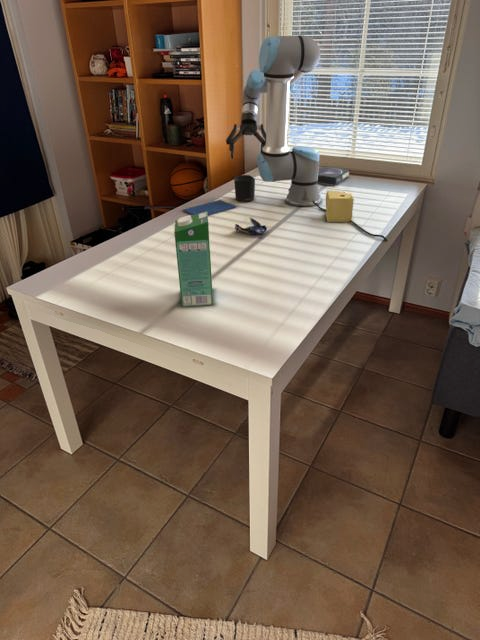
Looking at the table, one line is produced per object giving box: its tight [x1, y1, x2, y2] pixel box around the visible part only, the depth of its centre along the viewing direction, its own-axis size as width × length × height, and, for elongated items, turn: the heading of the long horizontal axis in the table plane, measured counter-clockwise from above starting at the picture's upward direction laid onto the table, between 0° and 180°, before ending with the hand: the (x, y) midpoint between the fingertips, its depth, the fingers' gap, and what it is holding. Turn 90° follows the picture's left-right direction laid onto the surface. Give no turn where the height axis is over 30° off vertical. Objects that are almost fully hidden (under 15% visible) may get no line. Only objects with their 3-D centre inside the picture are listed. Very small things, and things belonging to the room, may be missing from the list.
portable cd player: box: [318, 165, 350, 186], centre depth 241 cm, size 16×17×4 cm
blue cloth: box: [182, 199, 237, 216], centre depth 206 cm, size 12×20×1 cm, turn 128°
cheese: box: [325, 190, 355, 223], centre depth 191 cm, size 10×11×10 cm
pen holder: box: [233, 174, 256, 203], centre depth 214 cm, size 9×9×10 cm
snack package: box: [234, 217, 268, 236], centre depth 180 cm, size 12×6×12 cm
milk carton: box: [173, 211, 214, 307], centre depth 132 cm, size 9×9×25 cm
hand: (246, 157), depth 217 cm, fingers open, 13 cm apart
